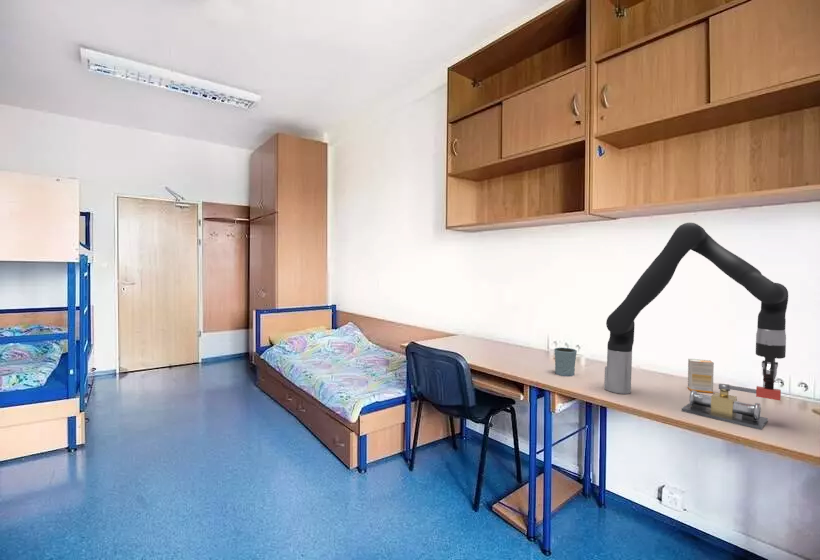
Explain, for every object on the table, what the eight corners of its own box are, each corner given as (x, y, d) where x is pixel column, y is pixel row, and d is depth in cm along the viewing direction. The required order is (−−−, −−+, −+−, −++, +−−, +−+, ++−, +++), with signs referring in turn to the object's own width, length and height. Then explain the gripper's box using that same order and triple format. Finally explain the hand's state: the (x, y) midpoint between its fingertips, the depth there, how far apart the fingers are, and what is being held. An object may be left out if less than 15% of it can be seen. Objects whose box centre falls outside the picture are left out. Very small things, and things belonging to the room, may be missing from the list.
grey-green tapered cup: (572, 372, 202) (573, 347, 202) (578, 377, 192) (579, 352, 192) (551, 371, 203) (552, 347, 203) (556, 376, 193) (557, 351, 193)
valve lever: (718, 390, 142) (718, 381, 142) (718, 388, 145) (719, 380, 145) (780, 400, 132) (780, 391, 132) (780, 398, 134) (780, 389, 134)
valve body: (681, 411, 147) (682, 386, 147) (691, 404, 155) (692, 380, 155) (761, 429, 131) (762, 401, 130) (767, 421, 139) (768, 394, 138)
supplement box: (710, 390, 174) (711, 360, 173) (713, 393, 169) (714, 362, 169) (687, 388, 177) (688, 358, 177) (689, 391, 173) (690, 360, 172)
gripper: (758, 338, 144) (756, 387, 145) (753, 343, 135) (752, 395, 135) (786, 341, 139) (785, 391, 139) (784, 346, 129) (782, 400, 130)
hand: (768, 393), depth 137 cm, fingers closed
